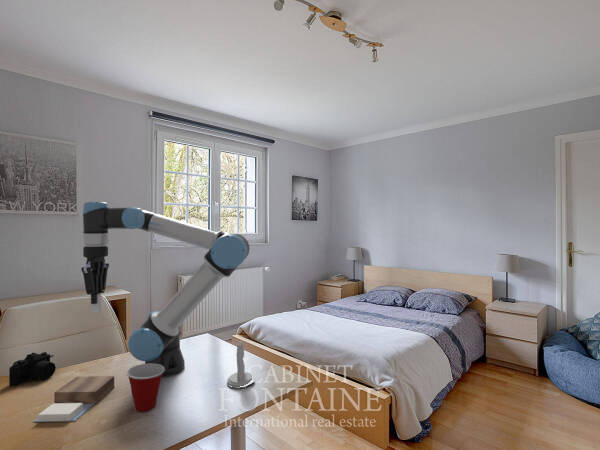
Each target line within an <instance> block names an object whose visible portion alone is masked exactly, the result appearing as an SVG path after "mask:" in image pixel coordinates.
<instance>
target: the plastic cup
mask: <svg viewBox="0 0 600 450" xmlns="http://www.w3.org/2000/svg"><path fill="white" fill-rule="evenodd" d="M164 370H165V368H164V367H163V366H162V365H159V364H152V363H149V364H145V363H141V364H137V365H135V366H132V367H130V368H129V369H128V370H127V372H126V375H127V376H128V381H129V385H130V390H131V396H132V401H133V404H134V409H135V411H136V412H137V413H146V412H149V411H152V410H153V409H155V408H156V405H157V399H158V395H159V390H160V384H161V380H162V377H161V376H162V374H163V372H164Z"/></svg>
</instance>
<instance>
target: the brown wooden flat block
mask: <svg viewBox="0 0 600 450" xmlns="http://www.w3.org/2000/svg"><path fill="white" fill-rule="evenodd" d="M114 388H115V375H99V376H96V375H95V376H88V375H87V376H76V377H74V378H73V379H72V380H70V381H68V382H67V383H66V384H65V385H64V384H63V386H62V387H60V388H59V389H57V390H56V391H54V393H53V394H54V395H53V396H54V404H55V403H83V404H94V405H96V404H98V403H99V402H100V401H101V400H102V399H104V398H105V396H107V395H108V394H109V393H110V392H112V390H113V389H114Z"/></svg>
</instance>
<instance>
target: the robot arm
mask: <svg viewBox="0 0 600 450" xmlns="http://www.w3.org/2000/svg"><path fill="white" fill-rule="evenodd" d="M82 217H83V218H82V220H83V221H82V224H83V225H82V227H83V232H82V233H83V236H82V239H83V241H82V243H83V245H84V246H83V248H82V253H83V254H82V255H83V256H82V257H84V258H86V263H85V264H86V265H85V266H82V267H81V273H82V274H83V275H82V276H83V281H84V287H85V293H86V294H87V295H90V314H99V313H101V312H102V294H104V293H105V292H106V291H105V290H106V288H107V287H106V285H107V280H108V279H107V277H108V270H109V267H110V263H107V262H106V259H105V257H108V256H109V247H108V244H109V230H112V229H113V230H114V229H116V230H119V229H120V230H121V229H123V230H135V229H137V230H141V231H146V232H147V233H148V232H149V233H153V234H156V235H158V236H162V237H163V236H164V237H165V238H169V239H172V240H176V241H179V242H182V243H186V244H189V245H192V246H195V247H198V248H202V249H205V250H208V251H207V252H206V253H205V254H204V255H203V263H202V264H201V265H200V266H199V268H198V269H197V270H195V272H194V273H193V274H192V275H191V276H190V277H189V278H188V280H187V281H186V282H185V283H184V284H183V286H182V287H180V288H179V289H178V291H177V292H176V293H175V294H174V296H173V297H172V298H171V299H170V300H169V301H168V302H167V303H166V305H165V306H164V307H162V309H161V310H157V311H152V312H149V313H148V314H147V315H148V316H147V319H146V320H145V321H144V322H143V323H142V324H141V326H140V327H138V328H137V329H136V330H134V331H133V332H132V334H131V335H130V336H129V339H128V340H127V341H128V342H127V343H128V344H127V347H128V350H129V353H130V355H131V356H132V357H133V358H134V359H136V360H138V361H140V362H144V364H149V363H152V364H159V365H162V366H163V367H164V368H165V370H164V372H163V374H162V376H161V378H167V377H171V376H174V375H176V374H178V373H180V372H182V371H183V370H184V369H185V367H186V365H185V363H186V362H185V358H184V356H183V352H182V350H181V325H182V324H183V323H184V321H186V319H187V318H188V317H189V316H190V315H191V314H192V312H193V311H194V310H195V309H196V308H197V307H198V306H199V305H200V303H201V302H202V301H203V300H204V299H205V298H206V297H207V295H209V293H210V292H211V291H213V289H214V288H215V287H216V286H217V285H218V284H219V282H220V281H221V280H222V279H223V278H229V277H230V276H231V275H232V274H233V272H235V270H236V269H237V268H238V267H239V266H240V265H241V264H242V263H244V261H245V259H247V257H248V256H249V254H250V244H249V241H248V240H247V238H246V237H244V236H243V235H242V234H239V233H232V232H226V231H222V230H219V231H214V230H210V229H207V228H204V227H201V226H197V225H195V224H190V223H187V222H183V221H181V220H178V219H174V218H171V217H167V216H164V215H161V214H157V213H154V212H152V211H149V210H146V209H141V208H140V207H133V206H132V207H109V204H108V203H107V202H104V201H86V202H84V203H83V209H82Z"/></svg>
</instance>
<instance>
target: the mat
mask: <svg viewBox="0 0 600 450" xmlns="http://www.w3.org/2000/svg"><path fill="white" fill-rule="evenodd" d="M94 405H95V404H83V410H82V411H80V412H79V413H78V414H77V415H76V416H75V417H74V418H72V419H71V420H70V421H69V422H76V421H77V420H79V419H80V418H81V417H82V416H83V415H84V414H86V412H87V411H88V410H90V409H91V408H92V407H93V406H94ZM57 422H61V423H62V422H66V421H39V422H38V417H37V418H36V419H34V420H33V423H57Z"/></svg>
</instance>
